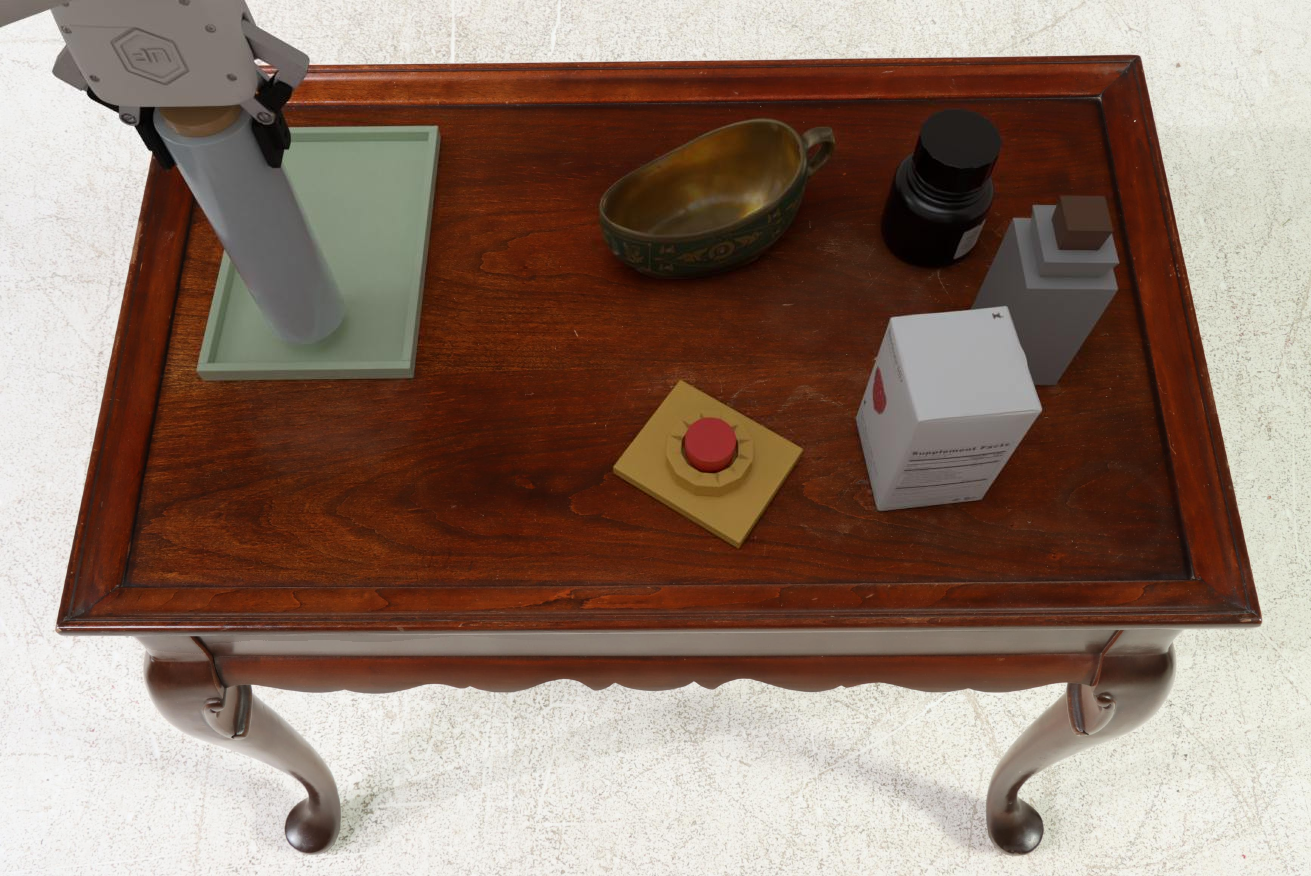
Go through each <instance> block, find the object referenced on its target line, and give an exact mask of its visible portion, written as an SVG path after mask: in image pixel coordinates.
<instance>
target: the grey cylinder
mask: <svg viewBox="0 0 1311 876" xmlns="http://www.w3.org/2000/svg"><path fill="white" fill-rule="evenodd" d="M252 121H253V116H252V115H250V114H249V113H248V112H247V111H246V110H245V109H244V108H243V107H242V106H241V105H239V104H238V105H230V106H188V107H155V109H154V113H153V122H154V126H155V128H156V130H157V132H158V134H159V136H160V137H161V139H162V141H163V143H164V144H165V146H166V148H167V150H168V151H169V153H170V155H171V157H172V158H173V160H174V162H175V166H176V167H177V169H178V170H179V173H180V174H181V176H182V178H183V179H184V181H185V183H186V184H187V186H188V189H189V190H190V192H191V193H192V195H193V197H194V198H195V201H196V202H197V204H198V206H199V207H200V209H201V211H202V212H203V214H204V216H205V219H207V221H208V223H209V226H210V227H211V228H212V230H213V232H214V233H215V236H216V237H217V239H218V241H219V242H220V244H221V246H222V248H223V249H225V251H226V253H227V255H228V256H229V258H230V260H231V262H232V263H233V265H234V267H235V269H236V270H237V272H238V274H239V276H240V277H241V279H242V281H243V283H244V284H245V286H246V288H247V290H248V291H249V293H250V295H251V297H252V298H253V300H254V302H255V304H256V305H257V307H258V309H259V311H260V312H261V314H262V316H263V318H264V319H265V321H266V323H267V325H268V326H269V328H270V330H271V331H272V333H273V334H274V335H275V336H276V337H278V338H279V339H281V340H283V341H285V342H288V343H291V344H310V343H314V342H317V341H320V340H322V339H324V338H326V337H327V336H329V335H330V334H332V333H333V332H334V331H335V330H336V329H337V328H338V327H339V325H340V324H341V322H342V320H343V318H344V315H345V301H344V298H343V296H342V294H341V291H340V289H339V287H338V285H337V282H336V280H335V278H334V276H333V273H332V271H331V269H330V267H329V264H328V262H327V260H326V258H325V255H324V253H323V251H322V248H321V246H320V244H319V242H318V239H317V237H316V235H315V233H314V230H313V228H312V226H311V224H310V221H309V219H308V217H307V214H306V212H305V210H304V208H303V205H302V203H301V201H300V199H299V196H298V194H297V192H296V190H295V187H294V185H293V183H292V181H291V178H290V176H289V174H288V171H287V169H286V167H285V165H284V162H283V160H282V164H281V168H271V166H268V164H267V161H266V159H265V157H264V155H263V153H262V151H261V148H260V146H259V144H258V142H257V140H256V138H255V135H254V133H253V131H252Z"/></svg>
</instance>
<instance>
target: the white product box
mask: <svg viewBox="0 0 1311 876" xmlns="http://www.w3.org/2000/svg"><path fill="white" fill-rule="evenodd" d="M877 353H878V354H877V356H876V359H875V362H874V365H873V367H872V371H871V374H870V376H869V379H868V382H867V385H866V388H865V391H864V394H863V396H862V399H861V402H860V405H859V408H858V411H857V413H856V416H855V422H856V426H857V431H858V435H859V439H860V443H861V448H862V453H863V455H864V456H863V457H864V460H865V465H866V470H867V473H868V477H869V482H870V486H871V490H872V495H873V499H874V503H875V508H876V510H877V511H879V512H885V511H894V510H904V509H913V508H920V507H930V506H938V505H947V504H954V503H955V504H956V503H965V502H973V501H981V500H983V499H984V496H985V495H986V494H987V492H988V491H989V489H990V488H991V486H992V485H993V483H994V482H995V480H996V479H997V477H998V476H999V474H1000V473H1001V471H1002V469H1004V467H1005V466H1006V464H1007V462H1008V461H1009V459H1010V458H1011V456H1012V455H1013V453H1014V452H1015V451H1016V450H1017V447H1018V446H1019V444H1020V443H1021V441H1022V440H1023V438H1024V437H1025V436H1026V435H1027V433H1028V431H1029V430H1030V428H1031V427H1032V425H1033V424H1034V422H1035V421H1036V419H1037V418H1038V417H1039V415H1040V414H1041V413H1042V411H1043V407H1042V404H1041V401H1040V399H1039V396H1038V392H1037V390H1036V387H1035V386H1036V385H1034V383H1033V381H1032V378H1031V375H1030V372H1029V369H1028V366H1027V359H1026V356H1025V353H1024V351H1023V349H1022V347H1021V345H1020V342H1019V339H1018V336H1017V333H1016V330H1015V327H1014V324H1013V321H1012V318H1011V315H1010V312H1009V309H1008V307H1007V306H1002V307H994V308H984V309H975V310H971V309H967V310H966V309H965V310H955V311H945V312H933V313H932V312H931V313H919V314H918V313H917V314H909V315H908V314H907V315H901V316H892V317H890V319H889V322H888V324H887V328H886V330H885V333H884V337H883V339H882V341H881V344H880V347H879V350H878V352H877Z"/></svg>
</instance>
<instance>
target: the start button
mask: <svg viewBox="0 0 1311 876" xmlns="http://www.w3.org/2000/svg"><path fill="white" fill-rule="evenodd" d="M735 446H736V435H735V433H734V431H733V429H732V428H731V426H730V425H729V424H728V423H726V422H725V421H723V420H721V419H718V418H712V417H708V418H702V419H699V420H697V421H696V422H694V423H693V424H692V425H691V426H690V427H689V428H688V430H687V432H686V435H685V455H686V457H687V459H688V461H689V462H690V463H691V464H692V465H693V466H694V467H696V468H697V469H700V470H702V471H708V472H713V471H718V470H721V469H723V468H725V467H726V466H727V465H728V464H729V463H730V462H731V461H732V459H733V457H734V453H735Z"/></svg>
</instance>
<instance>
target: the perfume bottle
mask: <svg viewBox="0 0 1311 876" xmlns="http://www.w3.org/2000/svg"><path fill="white" fill-rule="evenodd" d="M1113 232H1114V227H1113V223H1112V220H1111V215H1110V211H1109V207H1108V203H1107V199H1106V196H1105V195H1104V196H1103V195H1059V197H1058V200H1057V203H1056V204H1032V207H1031V217H1013V218H1012V219H1011V222H1010V224H1009V226H1008V228H1007V229H1006V232H1005V235H1004V236H1003V239H1002V241H1001V243H1000V245H999V248H998V250H997V252H996V254H995V255H994V256H995V257H994V258H993V260H992V263H991V264H990V266H989V269H988V272H987V273H986V276H985V278H984V280H983V282H982V284H981V287H980V288H979V291H978V293H977V295H976V297H975V299H974V301H973V303H972V306H971V308H970V310H975V309H984V308H994V307H1002V306H1007V307H1008V309H1009V312H1010V315H1011V318H1012V321H1013V324H1014V327H1015V330H1016V333H1017V336H1018V339H1019V342H1020V345H1021V347H1022V349H1023V351H1024V353H1025V356H1026V359H1027V366H1028V369H1029V372H1030V375H1031V378H1032V381H1033V383H1034V386H1056V385H1057V383H1058V382H1059V380H1061V378H1062V376H1063V375H1064V373H1065V371H1066V370H1067V368H1068V367H1069V365H1070V364H1071V363H1072V361H1073V359H1074V358H1075V356H1076V355H1077V353H1078V351H1080V349H1081V348H1082V346H1083V344H1084V342H1085V341H1086V340H1087V338H1088V336H1089V335H1090V334H1091V332H1092V330H1093V328H1094V327H1095V326H1096V324H1097V323H1098V321H1099V320H1100V318H1101V317H1102V315H1103V313H1105V310H1106V309H1107V307H1108V306H1109V304H1110V303H1111V301H1112V300H1113V298H1114V297H1115V295H1116V294H1117V292H1118V290H1119V287H1118V284H1117V279H1116V275H1115V271H1114V268H1115V267H1116V266H1118V265H1119V264H1120V260H1119V257H1118V252H1117V249H1116V245H1115V241H1114V237H1113Z"/></svg>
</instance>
